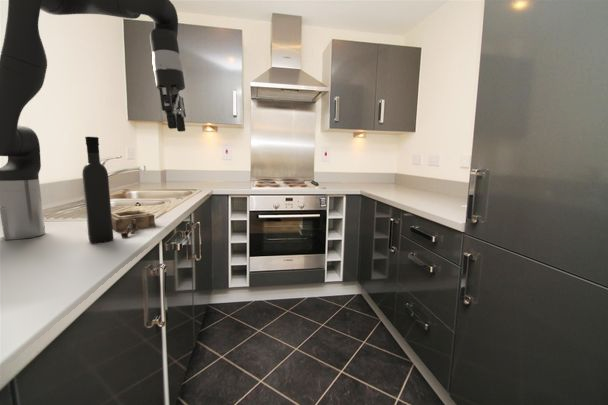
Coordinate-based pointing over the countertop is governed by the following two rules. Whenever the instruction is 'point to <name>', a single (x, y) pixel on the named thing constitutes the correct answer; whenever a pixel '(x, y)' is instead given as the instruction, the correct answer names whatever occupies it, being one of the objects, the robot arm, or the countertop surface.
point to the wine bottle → (97, 195)
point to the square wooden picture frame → (124, 219)
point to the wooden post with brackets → (125, 233)
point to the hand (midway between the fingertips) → (177, 130)
